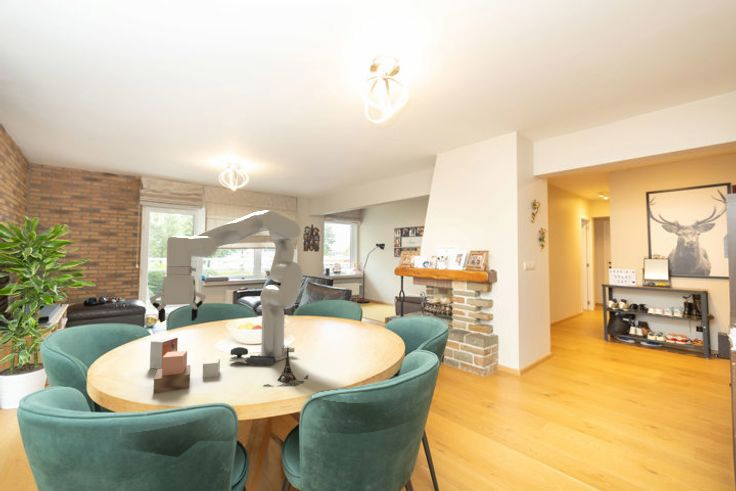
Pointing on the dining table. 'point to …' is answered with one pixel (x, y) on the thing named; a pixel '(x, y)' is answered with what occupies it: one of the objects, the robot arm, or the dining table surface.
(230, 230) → the robot arm
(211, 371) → the pale grey cube
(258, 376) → the dining table surface
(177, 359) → the terracotta cube
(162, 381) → the walnut base block
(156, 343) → the small box
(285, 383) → the eiffel tower figurine
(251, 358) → the can opener
